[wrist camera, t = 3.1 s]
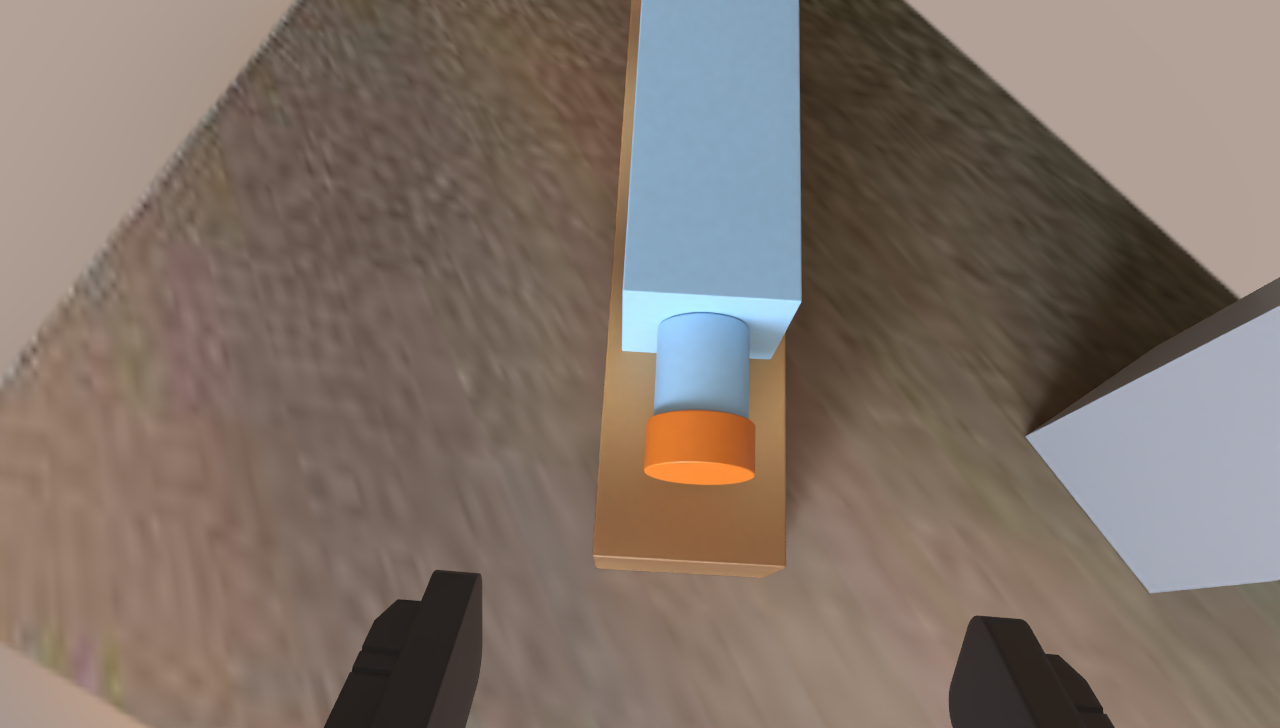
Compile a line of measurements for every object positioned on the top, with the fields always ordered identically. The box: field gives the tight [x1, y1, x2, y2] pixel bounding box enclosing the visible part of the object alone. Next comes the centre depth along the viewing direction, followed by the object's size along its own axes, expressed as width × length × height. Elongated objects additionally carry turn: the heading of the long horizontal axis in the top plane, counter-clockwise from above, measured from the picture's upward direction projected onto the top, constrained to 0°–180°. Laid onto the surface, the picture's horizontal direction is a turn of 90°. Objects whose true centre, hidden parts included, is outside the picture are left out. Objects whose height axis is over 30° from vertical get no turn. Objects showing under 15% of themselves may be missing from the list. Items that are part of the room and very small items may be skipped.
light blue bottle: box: [622, 0, 802, 485], centre depth 27 cm, size 18×5×5 cm, turn 177°
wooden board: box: [593, 0, 786, 578], centre depth 31 cm, size 22×6×4 cm, turn 177°
